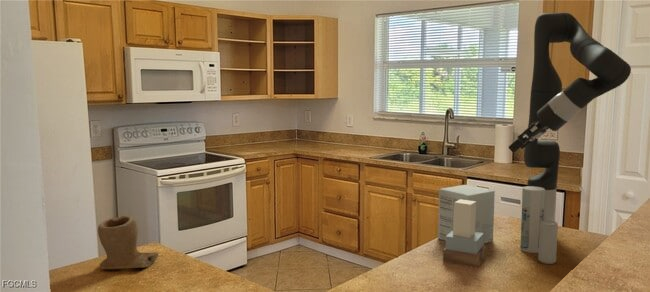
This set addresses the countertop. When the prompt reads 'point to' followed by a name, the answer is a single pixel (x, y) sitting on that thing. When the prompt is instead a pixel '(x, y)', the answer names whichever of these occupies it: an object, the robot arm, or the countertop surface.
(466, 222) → the cream block
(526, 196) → the spray can
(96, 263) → the countertop surface
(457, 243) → the slate-blue top block
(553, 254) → the beverage can
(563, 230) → the countertop surface
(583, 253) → the countertop surface
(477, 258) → the walnut base block
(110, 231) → the stone cup
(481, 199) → the supplement box
